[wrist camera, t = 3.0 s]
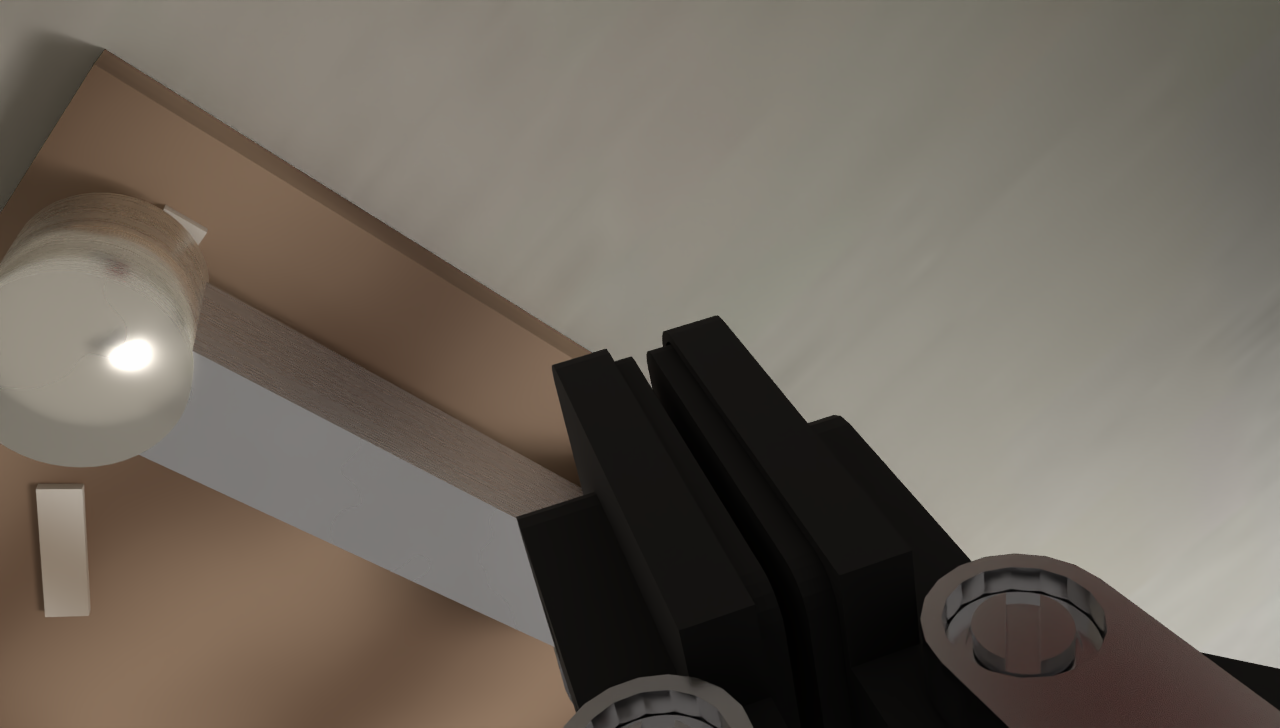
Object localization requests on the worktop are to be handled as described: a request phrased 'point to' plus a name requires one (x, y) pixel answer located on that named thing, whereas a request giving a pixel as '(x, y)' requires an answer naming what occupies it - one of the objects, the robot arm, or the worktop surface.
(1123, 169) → the worktop surface
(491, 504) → the peg lever
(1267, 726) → the robot arm
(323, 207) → the dial board
